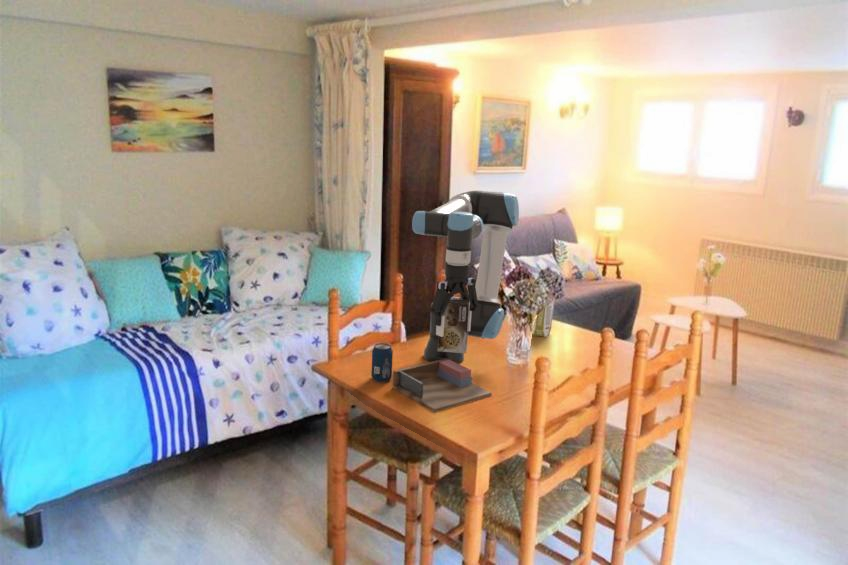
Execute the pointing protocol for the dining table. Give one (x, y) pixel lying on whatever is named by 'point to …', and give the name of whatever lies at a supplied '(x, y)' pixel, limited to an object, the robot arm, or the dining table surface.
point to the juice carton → (544, 321)
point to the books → (455, 373)
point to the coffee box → (455, 326)
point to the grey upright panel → (410, 384)
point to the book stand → (438, 388)
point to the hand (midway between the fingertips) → (453, 332)
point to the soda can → (382, 362)
